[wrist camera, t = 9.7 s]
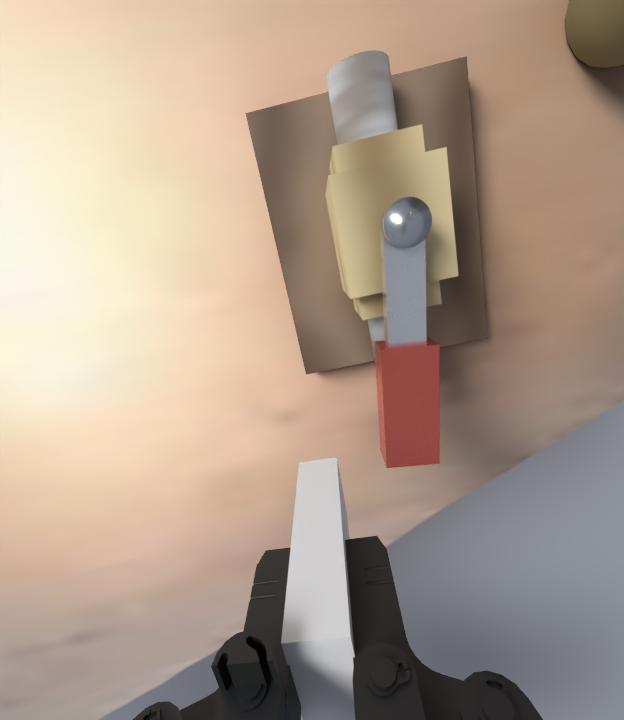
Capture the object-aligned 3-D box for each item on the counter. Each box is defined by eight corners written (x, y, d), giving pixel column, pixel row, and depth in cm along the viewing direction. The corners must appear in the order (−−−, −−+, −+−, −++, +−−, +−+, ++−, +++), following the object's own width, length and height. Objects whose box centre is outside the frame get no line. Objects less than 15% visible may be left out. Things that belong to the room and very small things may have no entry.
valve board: (453, 73, 23) (523, -20, 15) (475, 332, 28) (536, 360, 20) (251, 125, 24) (220, 61, 16) (306, 366, 29) (303, 405, 21)
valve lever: (366, 207, 18) (374, 200, 16) (425, 201, 18) (440, 192, 15) (380, 448, 22) (387, 469, 20) (427, 444, 22) (440, 465, 19)
